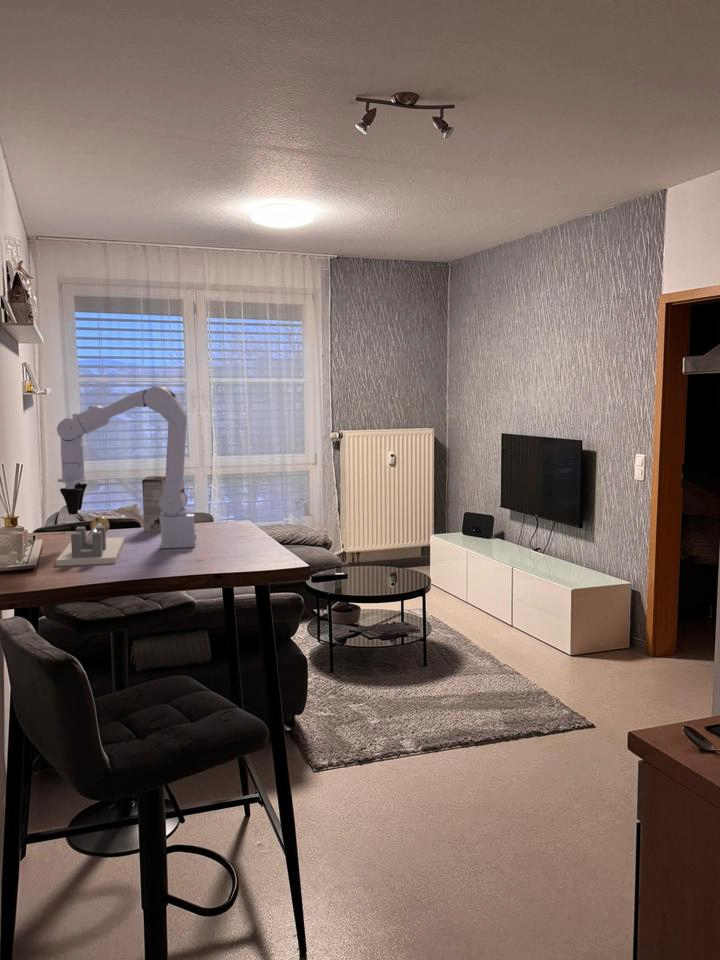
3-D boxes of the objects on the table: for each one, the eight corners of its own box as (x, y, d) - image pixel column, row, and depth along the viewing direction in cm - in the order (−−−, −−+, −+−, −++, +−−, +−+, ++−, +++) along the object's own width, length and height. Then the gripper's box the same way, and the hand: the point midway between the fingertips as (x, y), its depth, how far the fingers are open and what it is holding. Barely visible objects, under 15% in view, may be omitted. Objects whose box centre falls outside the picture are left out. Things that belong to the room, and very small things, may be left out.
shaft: (109, 533, 223) (108, 516, 222) (100, 549, 200) (99, 530, 200) (91, 534, 222) (90, 517, 221) (79, 550, 199) (79, 531, 199)
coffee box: (150, 526, 246) (148, 476, 244) (170, 526, 246) (168, 475, 244) (143, 531, 237) (141, 479, 235) (164, 531, 237) (162, 479, 235)
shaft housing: (124, 542, 220) (123, 516, 219) (115, 563, 194) (114, 533, 193) (72, 544, 217) (71, 518, 216) (56, 566, 191) (55, 536, 190)
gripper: (61, 460, 217) (63, 508, 218) (52, 465, 203) (55, 516, 204) (87, 460, 218) (89, 507, 220) (81, 464, 204) (83, 515, 206)
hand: (75, 512), depth 212 cm, fingers open, 7 cm apart
